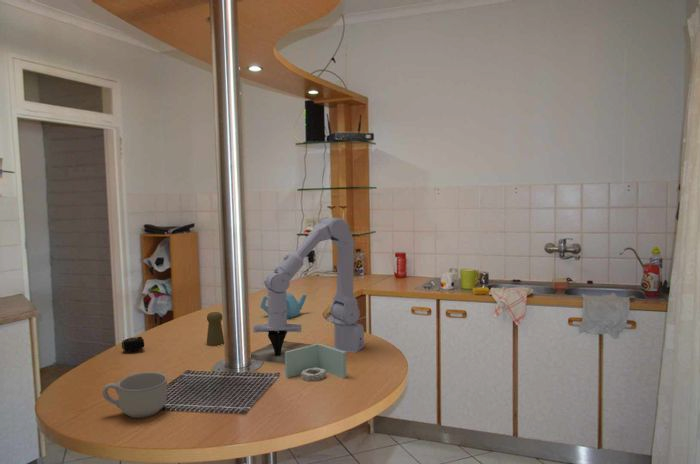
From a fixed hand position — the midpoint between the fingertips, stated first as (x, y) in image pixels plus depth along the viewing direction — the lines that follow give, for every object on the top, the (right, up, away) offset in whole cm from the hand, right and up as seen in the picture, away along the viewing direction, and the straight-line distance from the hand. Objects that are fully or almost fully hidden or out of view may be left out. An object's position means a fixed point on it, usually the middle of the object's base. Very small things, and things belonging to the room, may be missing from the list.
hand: (278, 354), depth 159 cm
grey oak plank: (+1, -1, +2) cm, 2 cm away
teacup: (-28, -5, -39) cm, 48 cm away
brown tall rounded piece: (-24, -1, +19) cm, 31 cm away
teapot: (-6, +2, +61) cm, 62 cm away
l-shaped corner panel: (+13, -3, -17) cm, 21 cm away
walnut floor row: (+4, -1, +10) cm, 11 cm away
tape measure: (-46, -1, +12) cm, 48 cm away
